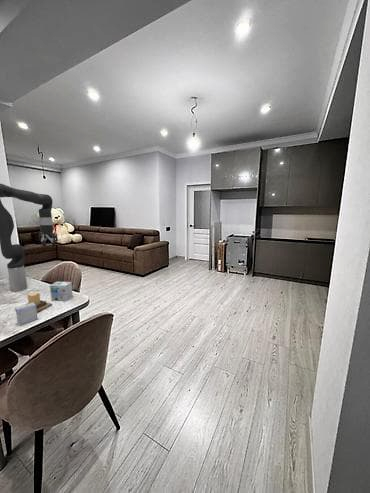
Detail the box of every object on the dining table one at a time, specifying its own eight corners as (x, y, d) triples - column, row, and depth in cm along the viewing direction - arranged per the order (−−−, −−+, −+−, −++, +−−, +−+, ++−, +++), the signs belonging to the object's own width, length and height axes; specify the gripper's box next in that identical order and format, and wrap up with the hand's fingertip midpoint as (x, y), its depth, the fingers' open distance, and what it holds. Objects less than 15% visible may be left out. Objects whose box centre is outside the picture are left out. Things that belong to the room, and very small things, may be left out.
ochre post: (29, 307, 117) (27, 295, 116) (35, 304, 121) (34, 292, 119) (34, 308, 116) (32, 296, 114) (41, 305, 120) (39, 293, 118)
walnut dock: (17, 312, 114) (16, 306, 114) (37, 302, 126) (36, 297, 125) (33, 315, 111) (32, 309, 111) (52, 305, 123) (51, 300, 122)
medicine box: (35, 316, 110) (33, 302, 108) (38, 319, 107) (35, 304, 106) (17, 322, 104) (14, 307, 102) (19, 325, 101) (17, 310, 100)
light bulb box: (51, 300, 129) (49, 285, 127) (57, 296, 135) (56, 281, 133) (67, 301, 128) (65, 285, 126) (73, 296, 135) (71, 281, 133)
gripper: (33, 224, 134) (36, 247, 137) (49, 224, 130) (52, 249, 133) (43, 223, 141) (46, 245, 144) (59, 224, 137) (61, 247, 140)
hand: (49, 247), depth 139 cm, fingers open, 8 cm apart
